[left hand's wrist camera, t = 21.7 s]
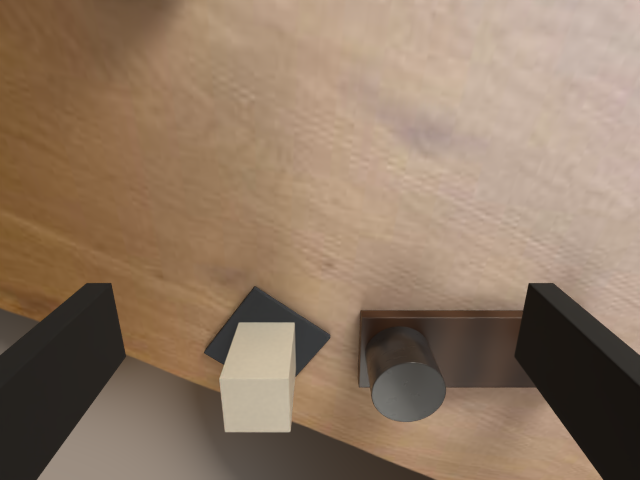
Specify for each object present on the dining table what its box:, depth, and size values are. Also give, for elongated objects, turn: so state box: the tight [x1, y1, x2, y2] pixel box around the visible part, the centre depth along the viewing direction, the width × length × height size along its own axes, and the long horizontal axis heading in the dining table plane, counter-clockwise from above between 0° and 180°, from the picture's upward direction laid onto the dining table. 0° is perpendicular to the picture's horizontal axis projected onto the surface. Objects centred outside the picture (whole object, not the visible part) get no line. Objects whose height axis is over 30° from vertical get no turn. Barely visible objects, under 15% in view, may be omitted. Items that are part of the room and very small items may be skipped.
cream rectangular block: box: [219, 322, 296, 432], centre depth 40 cm, size 6×6×9 cm
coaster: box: [204, 287, 330, 377], centre depth 44 cm, size 10×10×1 cm
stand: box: [358, 311, 536, 422], centre depth 41 cm, size 24×9×8 cm, turn 90°
